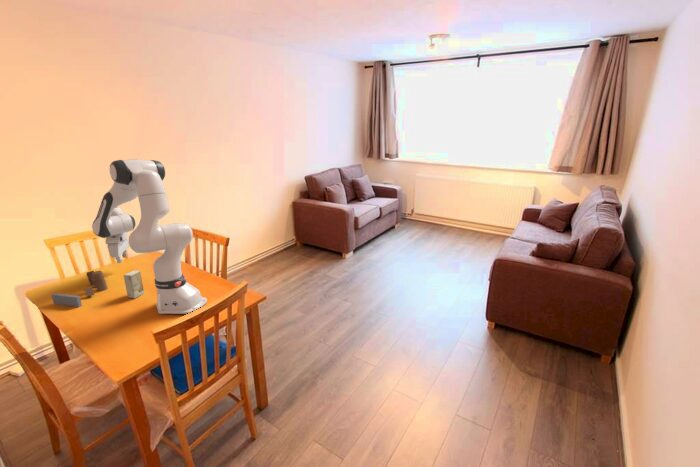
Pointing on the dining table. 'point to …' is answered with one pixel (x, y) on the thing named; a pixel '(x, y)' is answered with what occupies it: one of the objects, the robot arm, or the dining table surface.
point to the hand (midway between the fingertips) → (122, 259)
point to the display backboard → (66, 300)
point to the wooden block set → (95, 282)
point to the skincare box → (134, 284)
